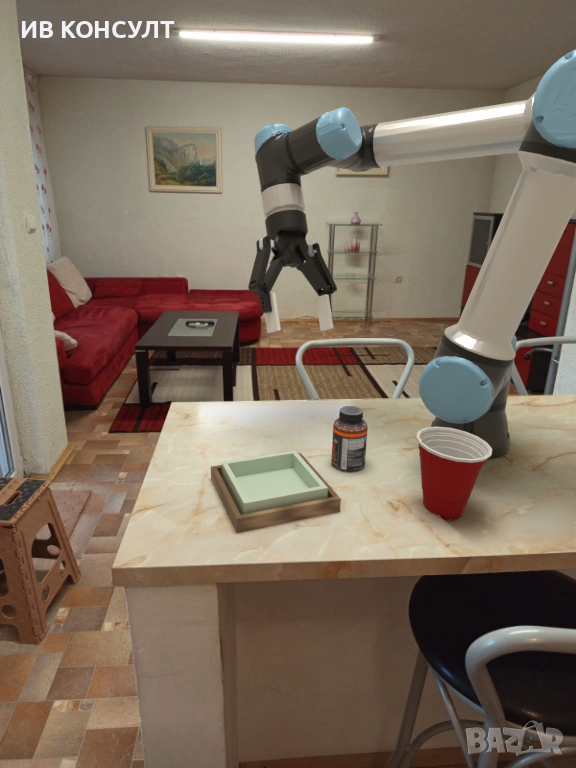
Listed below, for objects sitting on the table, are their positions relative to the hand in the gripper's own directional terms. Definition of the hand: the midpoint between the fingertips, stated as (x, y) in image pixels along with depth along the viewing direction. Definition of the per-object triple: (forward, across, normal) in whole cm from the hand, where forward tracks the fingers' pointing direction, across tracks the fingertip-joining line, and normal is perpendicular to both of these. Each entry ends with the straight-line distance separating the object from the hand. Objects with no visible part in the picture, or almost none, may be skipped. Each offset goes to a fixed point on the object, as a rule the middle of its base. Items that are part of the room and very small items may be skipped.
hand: (301, 330), depth 93 cm
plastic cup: (+32, -4, +22) cm, 39 cm away
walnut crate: (+27, +14, +2) cm, 31 cm away
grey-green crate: (+26, +14, +2) cm, 30 cm away
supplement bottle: (+26, -2, +4) cm, 26 cm away
